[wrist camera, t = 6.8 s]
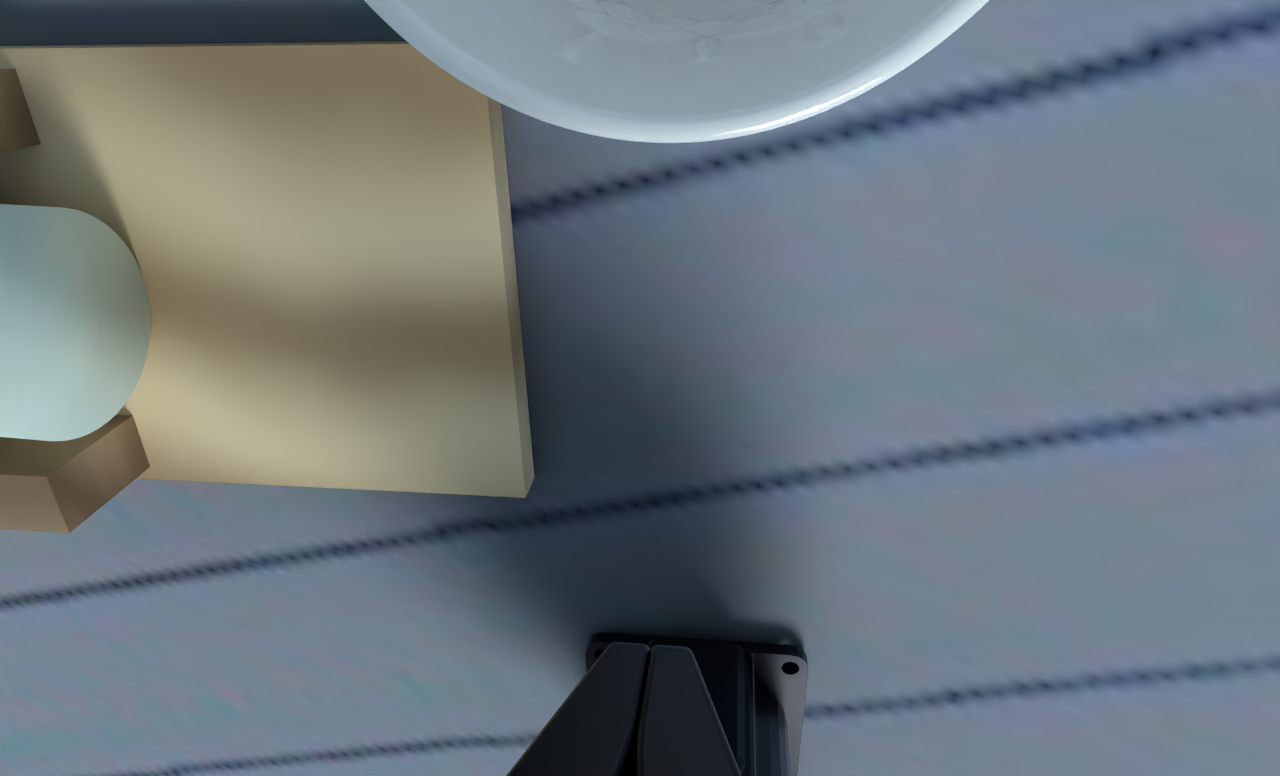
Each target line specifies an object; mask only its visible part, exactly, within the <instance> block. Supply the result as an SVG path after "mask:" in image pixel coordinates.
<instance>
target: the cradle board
mask: <svg viewBox="0 0 1280 776" xmlns="http://www.w3.org/2000/svg"><path fill="white" fill-rule="evenodd" d="M0 204H10V205H27V206H45V207H62V208H69V209H75V210H79V211H82V212H84V213H87V214H89V215H91V216H93V217H95V218H97V219H99V220H100V221H102V222H103V223H105V224H106V225H107V226H109V227H110V228H111V229H112V230H113V231H114V232H115V233H116V234H117V235H118V236H119V237H120V238H121V239H122V240H123V242H124V243H125V244H126V245H127V247H128V248H129V250H130V252H131V253H132V255H133V256H134V258H135V260H136V262H137V264H138V266H139V268H140V271H141V274H142V276H143V279H144V282H145V286H146V290H147V294H148V299H149V305H150V317H151V329H150V341H149V348H148V353H147V358H146V361H145V365H144V368H143V371H142V374H141V376H140V379H139V381H138V383H137V385H136V387H135V389H134V391H133V393H132V394H131V396H130V397H129V399H128V400H127V402H126V403H125V405H124V406H123V407H122V408H121V409H120V411H119V412H118V413H117V414H116V415H115V416H114V417H113V418H112V419H111V420H110V421H108V422H107V423H106V424H104V425H103V426H102V427H100V428H99V429H97V430H95V431H93V432H92V433H90V434H88V435H85V436H82V437H79V438H77V439H72V440H66V441H43V440H31V439H19V438H8V437H0V529H11V530H28V531H45V532H62V533H70V532H71V531H72V530H74V529H75V528H76V527H77V526H78V525H80V524H81V523H82V522H83V521H85V520H86V519H87V518H88V517H89V516H91V515H92V514H93V513H94V512H96V511H97V510H98V509H99V508H100V507H102V506H103V505H104V504H105V503H107V502H108V501H109V500H110V499H111V498H113V497H114V496H115V495H116V494H118V493H119V492H120V491H121V490H123V489H124V488H125V487H126V486H127V485H129V484H130V483H131V482H132V481H134V480H135V479H136V478H143V479H162V480H182V481H202V482H222V483H241V484H261V485H281V486H301V487H320V488H340V489H360V490H380V491H400V492H419V493H439V494H459V495H479V496H498V497H518V498H526V496H527V494H528V492H529V489H530V487H531V484H532V482H533V480H534V466H533V455H532V443H531V432H530V421H529V410H528V399H527V388H526V376H525V365H524V354H523V343H522V332H521V320H520V309H519V298H518V287H517V276H516V265H515V253H514V242H513V231H512V220H511V209H510V197H509V186H508V175H507V164H506V153H505V142H504V130H503V119H502V108H501V103H499V102H497V101H495V100H493V99H491V98H489V97H487V96H485V95H484V94H482V93H480V92H478V91H476V90H475V89H473V88H471V87H470V86H468V85H466V84H465V83H463V82H461V81H460V80H458V79H457V78H455V77H454V76H452V75H451V74H449V73H448V72H446V71H445V70H443V69H442V68H440V67H439V66H438V65H436V64H435V63H433V62H432V61H431V60H429V59H428V58H427V57H425V56H424V55H423V54H422V53H420V52H419V51H418V50H417V49H415V48H414V47H413V46H412V45H410V44H409V43H408V42H407V41H370V42H287V43H205V44H122V45H40V46H0Z"/></svg>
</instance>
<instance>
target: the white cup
mask: <svg viewBox="0 0 1280 776" xmlns="http://www.w3.org/2000/svg"><path fill="white" fill-rule="evenodd" d="M364 1H365V2H366V3H367V4H368V5H369V6H370V7H371V8H372V9H373V10H374V11H375V12H376V13H377V14H378V15H379V16H380V17H381V18H382V19H383V20H384V21H385V22H386V23H387V24H388V25H389V26H390V27H391V28H392V29H393V30H394V31H396V32H397V33H398V34H399V35H400V36H401V37H402V38H403V39H405V40H406V41H407V42H408V43H409V44H410V45H412V46H413V47H414V48H415V49H417V50H418V51H419V52H420V53H422V54H423V55H424V56H425V57H427V58H428V59H429V60H431V61H432V62H433V63H435V64H436V65H438V66H439V67H440V68H442V69H443V70H445V71H446V72H448V73H449V74H451V75H452V76H454V77H455V78H457V79H458V80H460V81H461V82H463V83H465V84H466V85H468V86H470V87H471V88H473V89H475V90H476V91H478V92H480V93H482V94H484V95H485V96H487V97H489V98H491V99H493V100H495V101H497V102H499V103H501V104H503V105H505V106H507V107H509V108H512V109H514V110H516V111H518V112H521V113H523V114H526V115H528V116H531V117H533V118H536V119H539V120H541V121H544V122H547V123H550V124H553V125H556V126H559V127H563V128H566V129H570V130H573V131H577V132H581V133H585V134H590V135H595V136H600V137H605V138H611V139H618V140H626V141H636V142H650V143H689V142H704V141H714V140H721V139H728V138H735V137H740V136H745V135H750V134H755V133H759V132H763V131H767V130H771V129H775V128H778V127H782V126H785V125H788V124H792V123H794V122H797V121H800V120H803V119H806V118H809V117H811V116H814V115H817V114H819V113H822V112H824V111H826V110H829V109H831V108H833V107H836V106H838V105H840V104H842V103H844V102H847V101H849V100H851V99H853V98H855V97H857V96H859V95H861V94H862V93H864V92H866V91H868V90H870V89H872V88H874V87H875V86H877V85H879V84H881V83H882V82H884V81H886V80H887V79H889V78H891V77H892V76H894V75H896V74H897V73H899V72H900V71H902V70H903V69H905V68H906V67H908V66H909V65H911V64H912V63H914V62H915V61H917V60H918V59H920V58H921V57H922V56H924V55H925V54H927V53H928V52H929V51H931V50H932V49H933V48H935V47H936V46H937V45H939V44H940V43H941V42H942V41H944V40H945V39H946V38H947V37H949V36H950V35H951V34H952V33H954V32H955V31H956V30H957V29H958V28H959V27H961V26H962V25H963V24H964V23H965V22H966V21H968V20H969V19H970V18H971V17H972V16H973V15H974V14H975V13H976V12H977V11H979V10H980V9H981V8H982V7H983V6H984V5H985V4H986V3H987V2H988V1H989V0H364Z"/></svg>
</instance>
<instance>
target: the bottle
mask: <svg viewBox="0 0 1280 776" xmlns="http://www.w3.org/2000/svg"><path fill="white" fill-rule="evenodd" d="M150 329H151V317H150V305H149V299H148V294H147V290H146V286H145V282H144V279H143V276H142V274H141V271H140V268H139V266H138V264H137V262H136V260H135V258H134V256H133V255H132V253H131V252H130V250H129V248H128V247H127V245H126V244H125V243H124V242H123V240H122V239H121V238H120V237H119V236H118V235H117V234H116V233H115V232H114V231H113V230H112V229H111V228H110V227H109V226H107V225H106V224H105V223H103V222H102V221H100V220H99V219H97V218H95V217H93V216H91V215H89V214H87V213H84V212H82V211H79V210H75V209H69V208H62V207H45V206H27V205H10V204H0V437H8V438H19V439H31V440H43V441H66V440H72V439H77V438H79V437H82V436H85V435H88V434H90V433H92V432H93V431H95V430H97V429H99V428H100V427H102V426H103V425H104V424H106V423H107V422H108V421H110V420H111V419H112V418H113V417H114V416H115V415H116V414H117V413H118V412H119V411H120V409H121V408H122V407H123V406H124V405H125V403H126V402H127V400H128V399H129V397H130V396H131V394H132V393H133V391H134V389H135V387H136V385H137V383H138V381H139V379H140V376H141V374H142V371H143V368H144V365H145V361H146V358H147V353H148V348H149V341H150Z"/></svg>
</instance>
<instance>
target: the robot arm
mask: <svg viewBox="0 0 1280 776" xmlns="http://www.w3.org/2000/svg"><path fill="white" fill-rule="evenodd" d="M601 648H603V649H605V650H604V651H601V650H599V649H601ZM786 662H794V663H795V664H790V665H789V664H785V663H786ZM586 666H587V673H586V675H585V676H584V677H583V679H582V680H581V681H580V682H579V684H578V685H577V686H576V687H575V689H574V690H573V691H572V693H571V694H570V695H569V696H568V698H567V699H566V700H565V701H564V703H563V704H562V705H561V707H560V708H559V709H558V710H557V712H556V713H555V714H554V716H553V717H552V718H551V719H550V721H549V722H548V723H547V724H546V726H545V727H544V728H543V730H542V731H541V732H540V733H539V735H538V736H537V737H536V738H535V740H534V741H533V742H532V744H531V745H530V746H529V747H528V749H527V750H526V751H525V752H524V754H523V755H522V756H521V758H520V759H519V760H518V761H517V763H516V764H515V765H514V767H513V768H512V769H511V770H510V772H509V773H508V774H507V775H506V776H797V772H798V762H799V753H800V743H801V733H802V723H803V714H804V704H805V694H806V684H807V675H808V664H807V656H806V653H805V652H804V651H803V650H802V649H801V648H799V647H797V646H792V645H780V644H766V643H751V642H736V641H722V640H707V639H692V638H678V637H663V636H648V635H634V634H619V633H605V632H603V633H596V634H594V635H592V636H591V637H590V639H589V641H588V646H587V650H586Z"/></svg>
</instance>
